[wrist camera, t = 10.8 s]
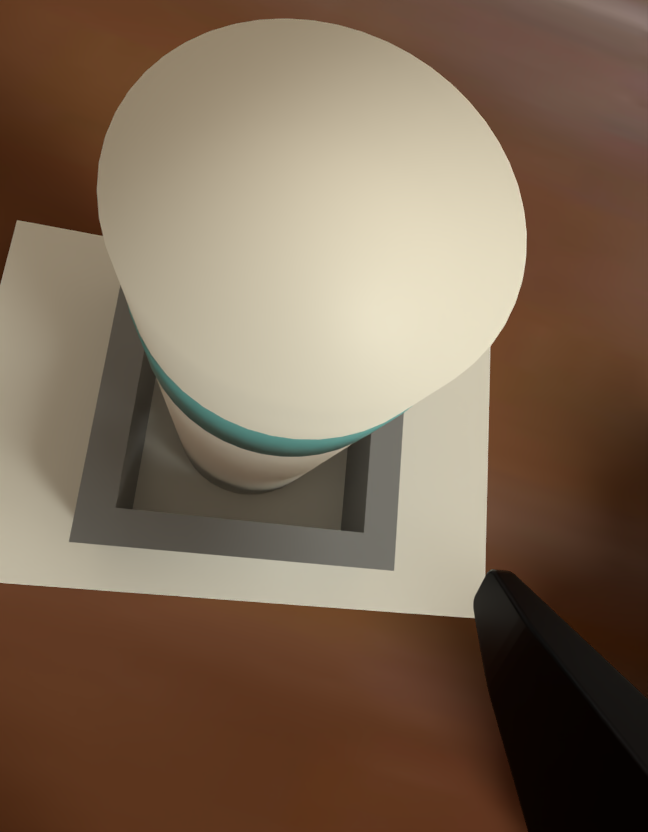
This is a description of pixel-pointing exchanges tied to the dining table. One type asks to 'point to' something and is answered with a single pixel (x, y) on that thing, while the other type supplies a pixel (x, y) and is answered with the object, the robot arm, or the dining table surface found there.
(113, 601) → the dining table surface
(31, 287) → the jig
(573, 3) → the dining table surface
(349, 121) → the teal-banded cream cylinder
